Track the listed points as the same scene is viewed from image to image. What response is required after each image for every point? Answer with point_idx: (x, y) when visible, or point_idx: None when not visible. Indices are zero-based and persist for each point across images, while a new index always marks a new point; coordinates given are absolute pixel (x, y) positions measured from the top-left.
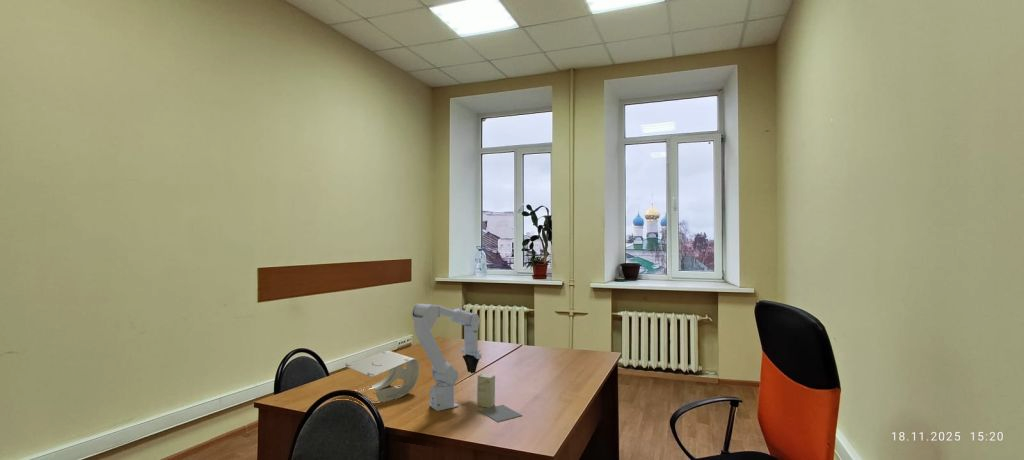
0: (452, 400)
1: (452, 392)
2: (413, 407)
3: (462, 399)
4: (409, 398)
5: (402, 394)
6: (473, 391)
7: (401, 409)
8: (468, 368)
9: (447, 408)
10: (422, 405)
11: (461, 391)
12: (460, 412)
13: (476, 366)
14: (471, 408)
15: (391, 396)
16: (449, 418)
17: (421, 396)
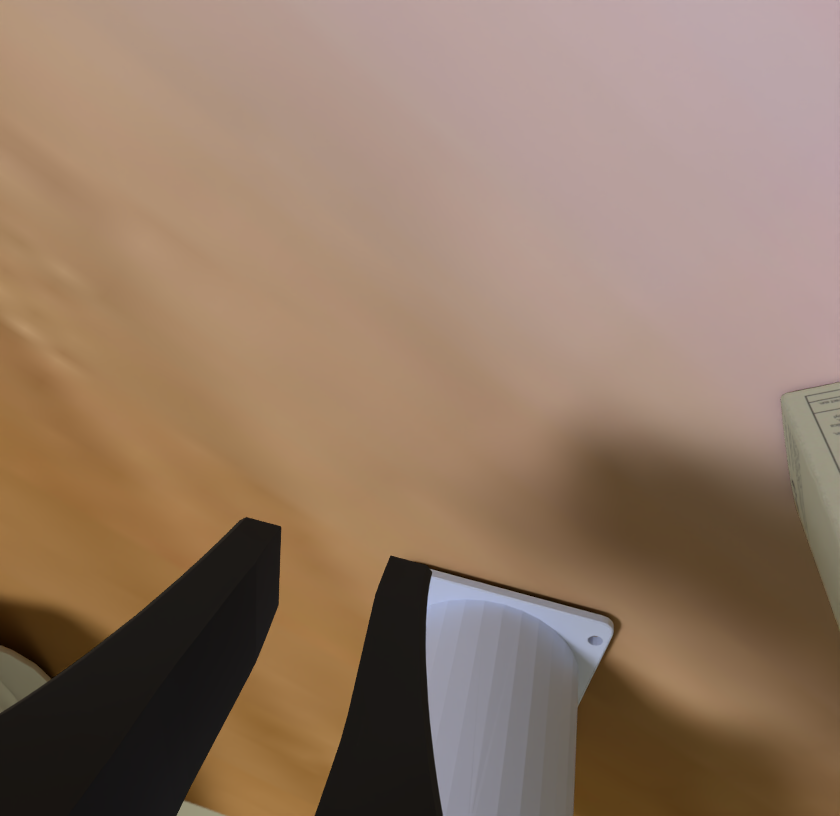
0: (574, 712)
1: (570, 803)
2: (326, 755)
3: (449, 450)
4: None
5: (19, 669)
6: (255, 124)
7: (309, 798)
8: (237, 680)
9: (579, 699)
10: (329, 711)
11: (156, 255)
12: (761, 695)
13: (426, 719)
14: (789, 585)
15: (12, 700)
16: (775, 801)
17: (103, 594)
